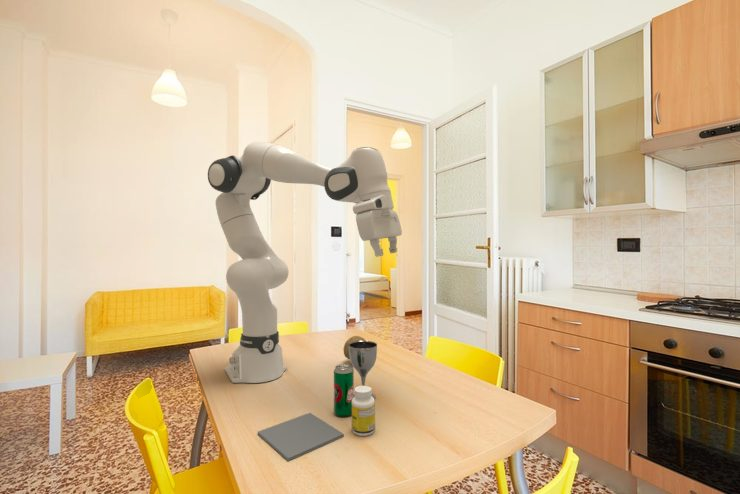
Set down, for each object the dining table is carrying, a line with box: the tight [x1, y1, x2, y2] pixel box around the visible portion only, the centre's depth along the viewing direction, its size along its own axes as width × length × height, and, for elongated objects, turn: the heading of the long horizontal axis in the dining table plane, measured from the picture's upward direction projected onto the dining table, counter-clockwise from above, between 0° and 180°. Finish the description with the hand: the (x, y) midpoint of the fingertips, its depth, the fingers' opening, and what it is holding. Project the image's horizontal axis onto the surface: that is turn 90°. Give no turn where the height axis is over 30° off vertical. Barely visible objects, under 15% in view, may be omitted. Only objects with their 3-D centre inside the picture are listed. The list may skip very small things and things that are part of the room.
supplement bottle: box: [351, 385, 376, 437], centre depth 85 cm, size 5×5×10 cm
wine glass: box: [349, 340, 378, 400], centre depth 103 cm, size 8×8×15 cm
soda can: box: [333, 363, 355, 418], centre depth 93 cm, size 5×5×12 cm
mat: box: [257, 412, 345, 462], centre depth 83 cm, size 14×14×1 cm
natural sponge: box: [343, 335, 367, 361], centre depth 132 cm, size 9×9×10 cm
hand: (386, 254), depth 100 cm, fingers open, 8 cm apart
